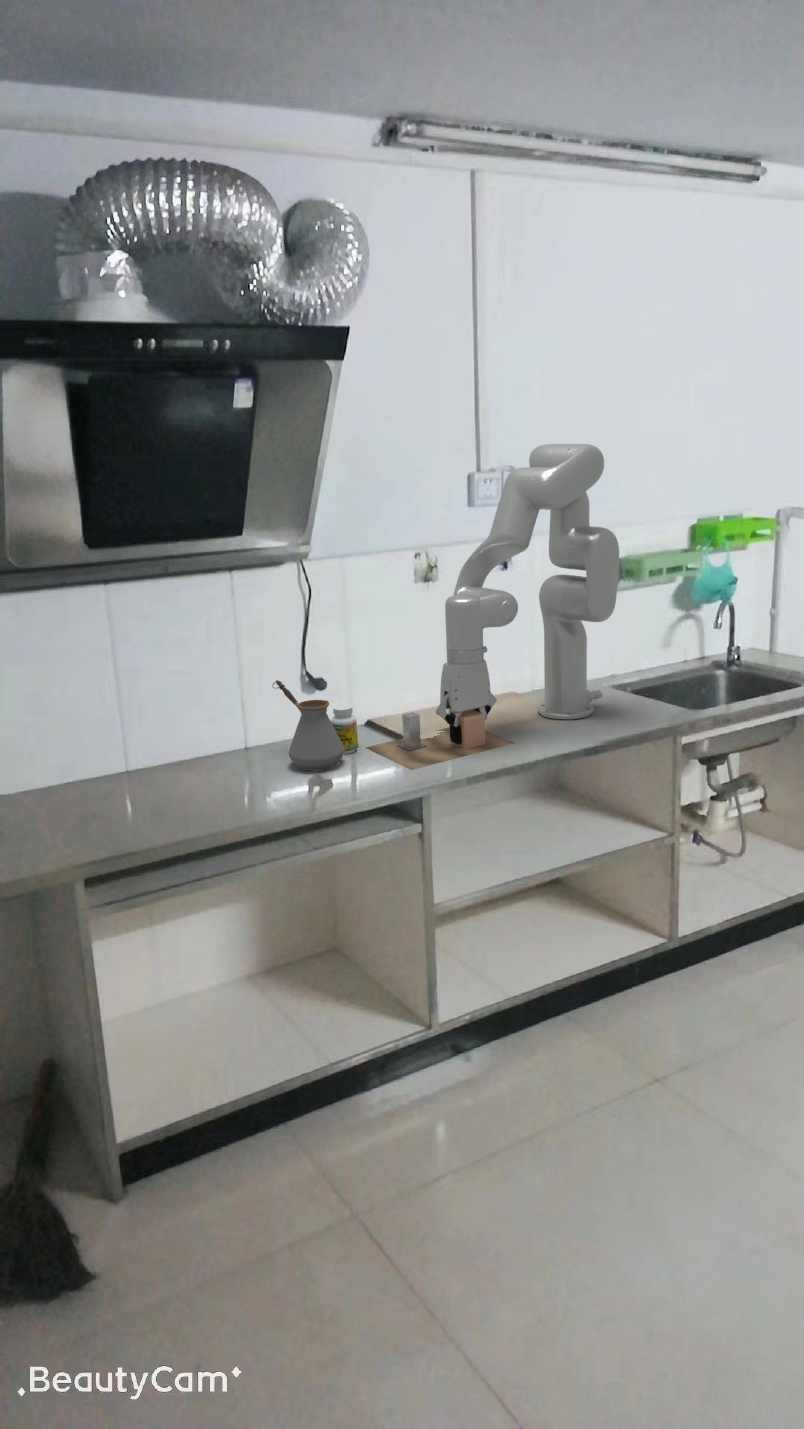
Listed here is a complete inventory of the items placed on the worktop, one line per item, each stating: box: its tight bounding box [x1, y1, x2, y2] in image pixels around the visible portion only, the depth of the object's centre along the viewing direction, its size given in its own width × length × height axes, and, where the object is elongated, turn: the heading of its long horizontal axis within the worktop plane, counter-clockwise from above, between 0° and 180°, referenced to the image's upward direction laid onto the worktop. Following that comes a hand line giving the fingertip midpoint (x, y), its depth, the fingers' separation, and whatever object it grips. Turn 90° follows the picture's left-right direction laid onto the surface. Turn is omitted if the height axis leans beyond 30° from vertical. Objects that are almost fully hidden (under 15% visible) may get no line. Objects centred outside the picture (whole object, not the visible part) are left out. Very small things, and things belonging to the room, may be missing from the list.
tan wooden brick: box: [450, 710, 486, 749], centre depth 220 cm, size 5×5×7 cm
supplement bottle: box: [330, 704, 359, 755], centre depth 221 cm, size 5×5×10 cm
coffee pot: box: [271, 680, 345, 771], centre depth 217 cm, size 21×12×15 cm, turn 34°
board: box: [365, 726, 516, 771], centre depth 221 cm, size 26×18×1 cm
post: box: [398, 711, 427, 751], centre depth 219 cm, size 4×4×7 cm
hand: (467, 739), depth 220 cm, fingers closed on tan wooden brick, 5 cm apart
